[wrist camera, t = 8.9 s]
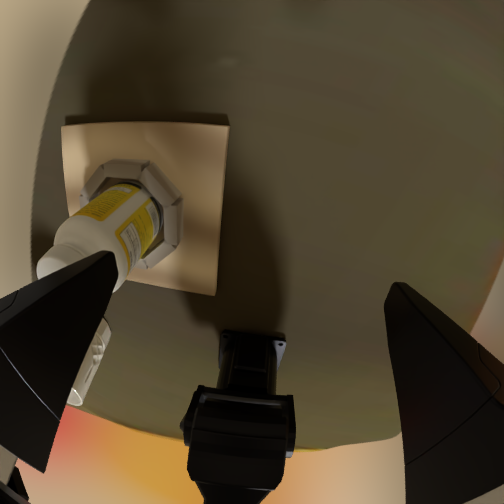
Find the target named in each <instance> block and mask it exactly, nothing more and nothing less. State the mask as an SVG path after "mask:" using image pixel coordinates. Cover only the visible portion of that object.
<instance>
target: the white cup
mask: <svg viewBox="0 0 504 504" xmlns="http://www.w3.org/2000/svg"><path fill="white" fill-rule="evenodd" d="M110 336H111V331H110V328H109V325H108V323H107V322H106V321H105V320H104V318H102V321H101V323H100V325H99V327H98V329H97V331H96V333H95V335H94V338H93V340H92V342H91V344H90V346H89V349H88V351H87V353H86V355H85V358H84V360H83V362H82V365H81V367H80V370H79V372H78V374H77V377H76V379H75V382H74V384H73V387H72V389H71V392H70V395H69V397H68V400H67V403H69V404H72V405H77V406H79V405H82V403H83V400H84V398H85V396H86V393H87V391H88V388H89V386H90V384H91V382H92V379H93V377H94V375H95V373H96V370H97V368H98V366H99V363H100V361H101V359H102V356H103V354H104V350H105V348H106V346H107V344H108V342H109V340H110Z"/></svg>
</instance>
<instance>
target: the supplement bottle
mask: <svg viewBox="0 0 504 504" xmlns="http://www.w3.org/2000/svg"><path fill="white" fill-rule="evenodd" d="M162 223H163V211H162V206H161V204H160V203H159V202H158V201H157V199H156V198H155V197H154V196H153V195H152V194H151V193H150V192H149V190H148V189H147V188H146V187H145V186H144V185H143V184H142V183H139V182H136V181H130V180H127V181H121V182H119V183H116V184H115V185H113V186H111V187H110V188H109V189H107V190H106V191H104V192H103V193H102V194H100V195H99V196H98V197H96V198H95V199H93V200H92V201H91V202H89V203H88V204H87V205H85V206H84V207H83V208H81V209H80V210H79V211H77V212H76V213H75V214H73V215H72V216H71V217H69V218H68V219H67V220H66V221H65V222H64V223H63V224H62V225H61V226H60V227H59V229H58V230H57V232H56V235H55V239H54V246H53V247H52V248H50V249H49V250H48V251H47V252H46V253H45V255H44V256H43V257H42V258H41V259H40V260H39V261H38V264H37V277H38V280H39V279H41V278H43V277H45V276H47V275H49V274H51V273H53V272H55V271H57V270H59V269H61V268H64V267H66V266H68V265H70V264H72V263H74V262H76V261H79V260H81V259H83V258H85V257H88V256H90V255H92V254H94V253H97V252H99V251H101V250H107V251H112V252H113V253H114V254H115V258H116V263H117V268H118V273H119V275H118V280H117V283H116V285H115V288H114V290H113V292H115V291H116V290H117V289H118V288H119V287H120V286H121V285H122V283H123V282H124V281H125V279H126V278H127V277H128V275H129V274H130V272H131V271H132V269H133V268H134V267H135V265H136V264H137V262H138V261H139V260H140V258H141V257H142V256H143V254H144V253H145V251H146V250H147V249H148V247H149V246H150V245H151V243H152V242H153V241H154V239H155V238H156V236H157V235H158V233H159V231H160V230H161V227H162Z"/></svg>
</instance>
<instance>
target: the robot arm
mask: <svg viewBox="0 0 504 504" xmlns="http://www.w3.org/2000/svg"><path fill="white" fill-rule="evenodd" d="M118 275H119V273H118V268H117V263H116V258H115V254H114V253H113V252H112V251H107V250H101V251H99V252H97V253H94V254H92V255H90V256H88V257H85V258H83V259H81V260H79V261H76V262H74V263H72V264H70V265H68V266H66V267H64V268H61V269H59V270H57V271H55V272H53V273H51V274H49V275H47V276H45V277H43V278H41V279H39V280H36V281H34V282H32V283H30V284H28V285H26V286H24V287H23V288H21V289H19V290H17V291H15V292H13V293H11V294H9V295H7V296H5V297H3V298H1V299H0V504H31V503H29V502H28V500H29V497H28V494H27V492H26V489H25V486H24V484H23V481H22V478H21V475H20V472H19V469H18V468H17V467H16V466H15V464H16V461H17V459H18V458H19V459H21V460H22V461H24V462H25V463H27V464H29V465H30V466H32V467H33V468H35V469H36V470H38V471H40V472H42V473H44V472H45V470H46V466H47V463H48V459H49V455H50V452H51V448H52V445H53V442H54V438H55V435H56V432H57V429H58V426H59V423H60V421H59V420H61V417H62V414H63V411H64V408H65V405H66V403H67V400H68V397H69V395H70V392H71V389H72V387H73V384H74V382H75V379H76V377H77V374H78V372H79V370H80V367H81V365H82V362H83V360H84V358H85V355H86V353H87V351H88V349H89V346H90V344H91V342H92V340H93V338H94V335H95V333H96V331H97V329H98V327H99V325H100V323H101V321H102V318H103V316H104V314H105V311H106V309H107V306H108V303H109V301H110V298H111V295H112V293H113V290H114V288H115V285H116V283H117V280H118ZM384 314H385V322H386V330H387V340H388V348H389V354H390V359H391V364H392V369H393V375H394V380H395V386H396V393H397V399H398V406H399V413H400V421H401V430H402V439H403V449H404V463H405V489H406V504H504V364H503V363H502V362H500V361H499V360H498V359H497V358H495V357H494V356H493V355H492V354H491V353H490V352H489V351H487V350H486V349H485V348H484V347H483V346H482V345H481V344H480V343H477V341H476V340H475V339H474V338H473V337H472V336H470V335H469V334H468V333H467V332H466V331H465V330H463V329H462V328H461V327H460V326H459V325H458V324H456V323H455V322H454V321H453V320H452V319H450V318H449V317H448V316H447V315H446V314H444V313H443V312H442V311H441V310H439V309H438V308H437V307H436V306H434V305H433V304H432V303H431V302H429V301H428V300H427V299H426V298H424V297H423V296H422V295H421V294H419V293H418V292H417V291H415V290H414V289H413V288H412V287H410V286H409V285H408V284H406V283H404V282H394V283H393V284H392V286H391V288H390V290H389V293H388V295H387V298H386V300H385V303H384ZM285 346H286V340H285V339H283V338H276V337H268V336H261V335H254V334H247V333H240V332H234V331H227V330H224V331H222V333H221V340H220V355H219V369H220V372H219V377H218V382H217V387H216V388H211V387H205V386H204V385H198V388H197V391H195V392H194V393H193V397H192V400H191V403H190V405H189V408H188V411H187V413H186V414H185V416H184V418H183V419H182V421H181V423H180V429H181V430H182V432H183V435H184V444H185V446H189V453H188V462H187V471H188V473H189V476H190V478H191V480H192V481H195V482H196V484H197V486H198V488H199V490H200V492H201V494H202V496H203V498H204V504H260V503H261V501H262V500H263V499H264V498H265V497H266V496H267V495H268V494H269V492H271V490H275V489H276V487H277V486H278V485H279V483H280V482H281V480H282V477H283V474H284V466H285V458H291V457H292V454H293V451H294V446H295V438H296V422H295V411H294V400H293V395H287V396H286V395H276V379H277V370H278V368H279V365H280V361H281V358H282V355H283V352H284V349H285Z"/></svg>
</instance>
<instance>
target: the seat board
mask: <svg viewBox="0 0 504 504" xmlns="http://www.w3.org/2000/svg"><path fill="white" fill-rule="evenodd" d="M229 130H230V126H227V125H216V124H203V123H186V122H155V121H131V122H101V123H85V124H72V125H65V126H62V127H61V132H62V154H63V167H64V178H65V187H66V195H67V202H68V209H69V216H70V217H71V216H72V215H73V214H75V213H76V212H77V211H79V210H80V209H81V208H83V207H84V206H85V205H87V204H88V203H89V202H91V201H92V200H93V199H95V198H96V197H98V196H99V195H100V194H102V193H103V192H104V191H106V190H107V189H109V188H110V187H111V186H113V185H115V184H116V183H119V182H121V181H127V180H130V181H136V182H139V183H142V184H143V185H144V186H145V187H146V188H147V189H148V190H149V192H150V193H151V194H152V195H153V196H154V197H155V198H156V199H157V201H158V202H159V203H160V204H161V206H162V211H163V223H162V227H161V230H160V231H159V233H158V235H157V236H156V238H155V239H154V241H153V242H152V243H151V245H150V246H149V247H148V249H147V250H146V251H145V253H144V254H143V256H142V257H141V258H140V260H139V261H138V262H137V264H136V265H135V267H134V268H133V269H132V271H131V272H130V274H129V275H128V277H127V278H126V280H131V281H136V282H141V283H146V284H151V285H156V286H161V287H166V288H172V289H177V290H183V291H188V292H194V293H200V294H206V295H212V296H215V293H216V289H217V272H218V257H219V243H220V229H221V216H222V204H223V192H224V181H225V170H226V159H227V149H228V139H229Z"/></svg>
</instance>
